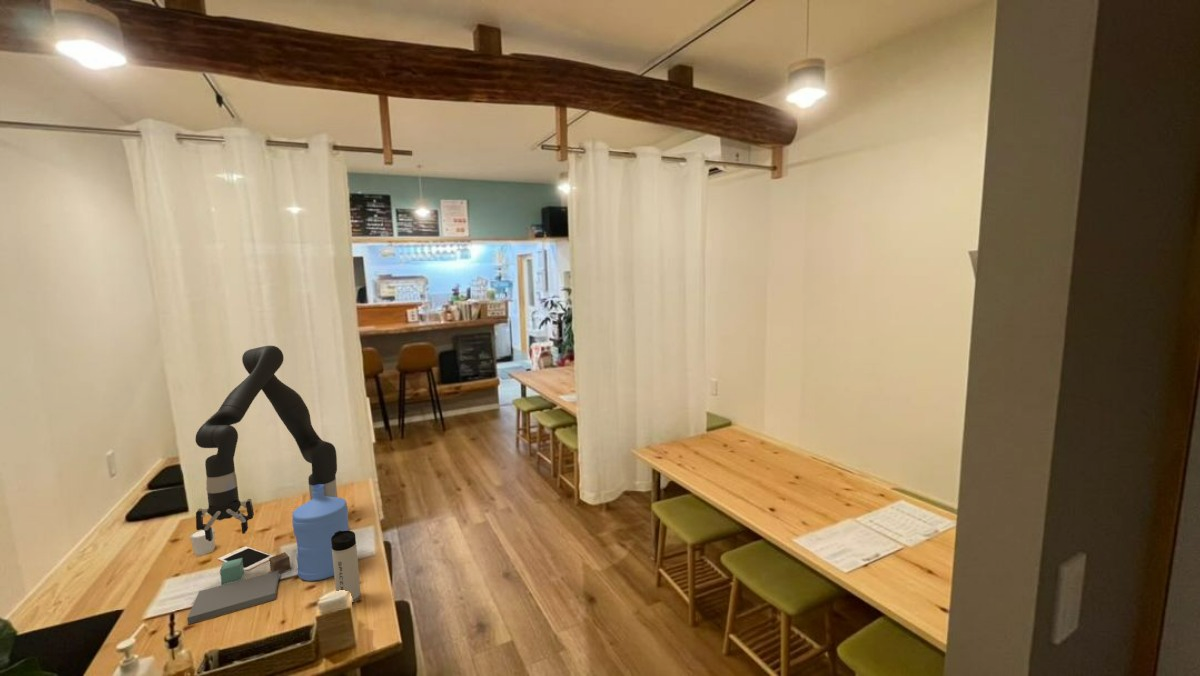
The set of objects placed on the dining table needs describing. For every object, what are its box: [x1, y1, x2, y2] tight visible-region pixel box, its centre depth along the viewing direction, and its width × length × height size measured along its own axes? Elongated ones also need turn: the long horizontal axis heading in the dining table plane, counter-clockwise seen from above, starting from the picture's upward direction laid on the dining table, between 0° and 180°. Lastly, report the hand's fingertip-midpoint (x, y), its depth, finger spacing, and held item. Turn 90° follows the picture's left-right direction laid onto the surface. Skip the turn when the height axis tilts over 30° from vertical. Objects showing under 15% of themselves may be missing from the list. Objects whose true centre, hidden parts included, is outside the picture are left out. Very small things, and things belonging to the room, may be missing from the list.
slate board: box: [186, 570, 280, 625], centre depth 142 cm, size 20×14×2 cm
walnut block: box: [268, 552, 291, 575], centre depth 156 cm, size 4×4×4 cm
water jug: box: [291, 484, 351, 582], centre depth 156 cm, size 16×16×28 cm
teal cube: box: [219, 558, 245, 585], centre depth 153 cm, size 5×5×5 cm
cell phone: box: [217, 545, 274, 572], centre depth 164 cm, size 9×18×1 cm, turn 64°
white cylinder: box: [189, 528, 216, 557], centre depth 170 cm, size 7×7×7 cm
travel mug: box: [331, 530, 362, 603], centre depth 139 cm, size 6×7×20 cm
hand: (227, 536), depth 151 cm, fingers open, 8 cm apart
